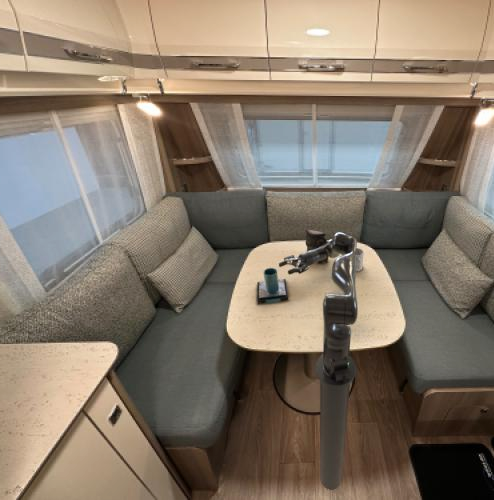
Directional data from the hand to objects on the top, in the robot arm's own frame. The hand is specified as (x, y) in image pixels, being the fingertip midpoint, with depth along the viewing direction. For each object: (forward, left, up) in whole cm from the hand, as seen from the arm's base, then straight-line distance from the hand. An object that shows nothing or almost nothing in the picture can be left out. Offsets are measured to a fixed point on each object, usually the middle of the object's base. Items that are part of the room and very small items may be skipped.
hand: (283, 269), depth 133 cm
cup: (-1, +7, -10) cm, 12 cm away
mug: (+11, -42, -14) cm, 46 cm away
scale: (-1, +7, -13) cm, 15 cm away
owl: (+27, -24, -14) cm, 38 cm away
